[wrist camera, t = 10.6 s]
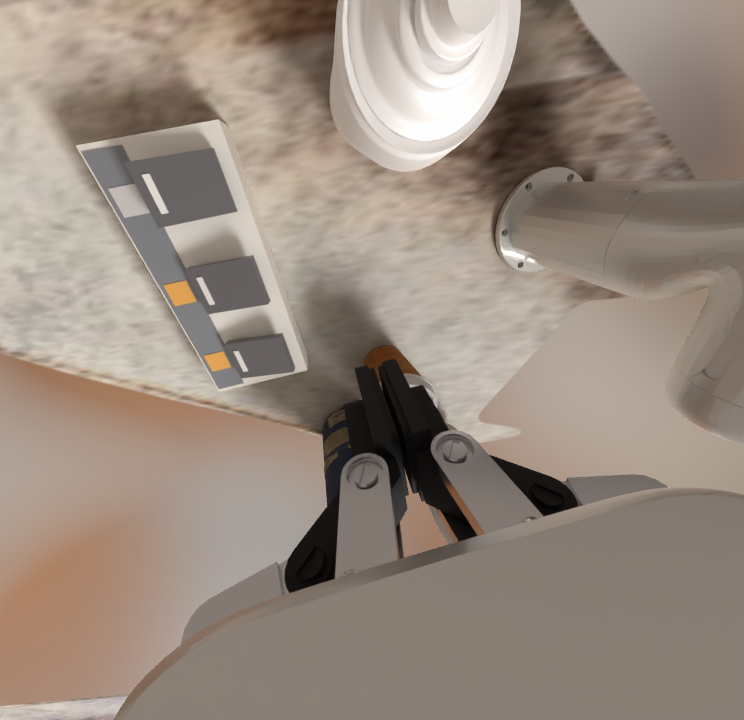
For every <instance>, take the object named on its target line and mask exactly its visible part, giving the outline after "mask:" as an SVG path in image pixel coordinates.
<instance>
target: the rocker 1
mask: <svg viewBox="0 0 744 720" xmlns="http://www.w3.org/2000/svg"><path fill="white" fill-rule="evenodd" d="M124 164H125V166H126V167H127V169H128V171H129V173H130V175H131V177H132V179H133V181H134V183H135V185H136V187H137V188H138V190H139V192H140V194H141V196H142V198H143V200H144V202H145V204H146V206H147V208H148V209H149V211H150V213H151V215H152V217H153V219H154V221H155V223H156V225H157V227H158V228H162V227H167V226H172V225H176V224H181V223H186V222H191V221H195V220H200V219H205V218H210V217H214V216H219V215H224V214H229V213H233V212H238V210H237V208H236V205H235V202H234V200H233V197H232V194H231V192H230V189H229V186H228V184H227V181H226V178H225V176H224V173H223V170H222V168H221V165H220V162H219V160H218V157H217V154H216V152H215V149H214V148H208V149H202V150H196V151H190V152H183V153H177V154H171V155H165V156H159V157H153V158H147V159H141V160H135V161H129V162H124Z"/></svg>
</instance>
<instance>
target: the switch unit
mask: <svg viewBox="0 0 744 720" xmlns="http://www.w3.org/2000/svg"><path fill="white" fill-rule="evenodd" d="M75 146H76V147H77V149H78V151H79V152H80V154H81V156H82V158H83V159H84V161H85V163H86V164H87V166H88V168H89V170H90V171H91V173H92V175H93V176H94V178H95V180H96V182H97V183H98V185H99V187H100V188H101V190H102V192H103V194H104V195H105V197H106V199H107V200H108V202H109V204H110V206H111V207H112V209H113V211H114V212H115V214H116V216H117V218H118V219H119V221H120V223H121V224H122V226H123V228H124V230H125V231H126V233H127V235H128V236H129V238H130V240H131V242H132V243H133V245H134V247H135V248H136V250H137V252H138V254H139V255H140V257H141V259H142V260H143V262H144V264H145V266H146V267H147V269H148V271H149V272H150V274H151V276H152V277H153V279H154V281H155V283H156V284H157V286H158V288H159V289H160V291H161V293H162V295H163V296H164V298H165V300H166V301H167V303H168V305H169V307H170V308H171V310H172V312H173V313H174V315H175V317H176V319H177V320H178V322H179V324H180V325H181V327H182V329H183V331H184V332H185V334H186V336H187V337H188V339H189V341H190V343H191V344H192V346H193V348H194V349H195V351H196V353H197V355H198V356H199V358H200V360H201V361H202V363H203V365H204V367H205V368H206V370H207V372H208V373H209V375H210V377H211V379H212V380H213V382H214V384H215V385H216V387H217V389H218V391H219V392H222V391H226V390H230V389H234V388H238V387H242V386H246V385H250V384H254V383H258V382H262V381H266V380H270V379H275V378H279V377H283V376H287V375H291V374H295V373H299V372H303V371H307V370H308V356H307V353H306V350H305V347H304V344H303V341H302V338H301V335H300V332H299V329H298V326H297V323H296V321H295V318H294V315H293V312H292V309H291V306H290V303H289V300H288V297H287V294H286V291H285V288H284V285H283V283H282V280H281V277H280V274H279V271H278V268H277V265H276V262H275V259H274V256H273V253H272V250H271V248H270V245H269V242H268V239H267V236H266V233H265V230H264V227H263V224H262V221H261V218H260V215H259V212H258V210H257V207H256V204H255V201H254V198H253V195H252V192H251V189H250V186H249V183H248V180H247V177H246V175H245V172H244V169H243V166H242V163H241V160H240V157H239V154H238V151H237V148H236V145H235V142H234V139H233V137H232V134H231V131H230V128H229V126H227V125H226V124H224V123H223V122H222V121H220V120H219V119H218V120H212V121H207V122H201V123H196V124H190V125H185V126H179V127H174V128H168V129H163V130H157V131H152V132H147V133H141V134H136V135H130V136H125V137H119V138H114V139H108V140H103V141H97V142H92V143H86V144H81V145H75ZM208 148H214V149H215V152H216V154H217V157H218V160H219V162H220V165H221V168H222V170H223V173H224V176H225V178H226V181H227V184H228V186H229V189H230V192H231V194H232V197H233V200H234V202H235V205H236V208H237V210H238V212H233V213H229V214H224V215H219V216H214V217H210V218H205V219H200V220H195V221H191V222H186V223H181V224H176V225H172V226H167V227H162V228H158V227H157V225H156V223H155V221H154V219H153V217H152V215H151V213H150V211H149V209H148V208H147V206H146V204H145V202H144V200H143V198H142V196H141V194H140V192H139V190H138V188H137V187H136V185H135V183H134V181H133V179H132V177H131V175H130V173H129V171H128V169H127V167H126V166H125V164H124V162H129V161H135V160H141V159H147V158H153V157H159V156H165V155H171V154H177V153H183V152H190V151H196V150H202V149H208ZM251 255H253V256H254V258H255V261H256V264H257V266H258V269H259V272H260V274H261V277H262V280H263V282H264V285H265V287H266V290H267V293H268V295H269V298H270V302H269V304H268V305H262V306H256V307H250V308H243V309H237V310H231V311H225V312H219V313H213V314H207V313H206V311H205V309H204V307H203V305H202V303H201V301H200V299H199V297H198V295H197V293H196V291H195V289H194V287H193V285H192V284H191V282H190V280H189V278H188V276H187V274H186V272H185V270H184V269H186V268H188V267H191V266H196V265H201V264H207V263H212V262H218V261H223V260H229V259H234V258H240V257H245V256H251ZM279 333H283V336H284V338H285V341H286V344H287V346H288V349H289V352H290V354H291V357H292V360H293V362H294V365H295V370H294V372H290V373H282V374H274V375H266V376H257V377H249V378H241V377H240V375H239V374H238V372H237V370H236V368H235V366H234V364H233V362H232V360H231V358H230V356H229V354H228V352H227V350H226V348H225V346H224V344H225V343H226V342H227V341H229V340H236V339H244V338H251V337H258V336H265V335H272V334H279Z"/></svg>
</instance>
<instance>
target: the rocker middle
mask: <svg viewBox="0 0 744 720" xmlns="http://www.w3.org/2000/svg"><path fill="white" fill-rule="evenodd" d="M184 270H185V272H186V274H187V276H188V278H189V280H190V282H191V284H192V285H193V287H194V289H195V291H196V293H197V295H198V297H199V299H200V301H201V303H202V305H203V307H204V309H205V311H206V313H207V314H213V313H219V312H225V311H231V310H237V309H243V308H250V307H256V306H262V305H268V304H269V302H270V298H269V295H268V293H267V290H266V287H265V285H264V282H263V280H262V277H261V274H260V272H259V269H258V266H257V264H256V261H255V258H254V256H253V255H251V256H245V257H240V258H234V259H229V260H223V261H218V262H212V263H207V264H201V265H196V266H191V267H188V268H186V269H184Z"/></svg>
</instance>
